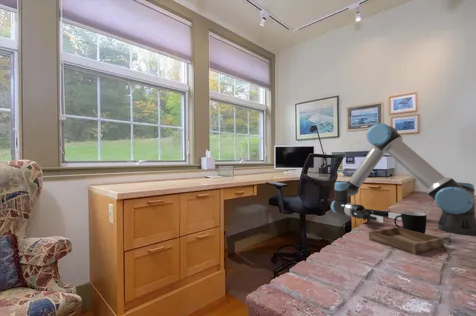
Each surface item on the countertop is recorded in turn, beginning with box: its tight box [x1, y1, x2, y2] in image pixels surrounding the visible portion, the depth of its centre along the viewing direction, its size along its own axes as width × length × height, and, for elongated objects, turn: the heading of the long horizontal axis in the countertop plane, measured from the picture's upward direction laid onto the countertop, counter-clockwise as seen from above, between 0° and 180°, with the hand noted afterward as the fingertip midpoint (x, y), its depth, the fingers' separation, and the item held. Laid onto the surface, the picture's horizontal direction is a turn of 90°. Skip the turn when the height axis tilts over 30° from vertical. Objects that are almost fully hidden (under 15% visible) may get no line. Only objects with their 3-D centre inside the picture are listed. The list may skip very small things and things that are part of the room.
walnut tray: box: [368, 226, 445, 256], centre depth 94 cm, size 18×18×4 cm
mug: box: [393, 210, 428, 234], centre depth 105 cm, size 12×9×10 cm
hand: (393, 218), depth 112 cm, fingers open, 13 cm apart
